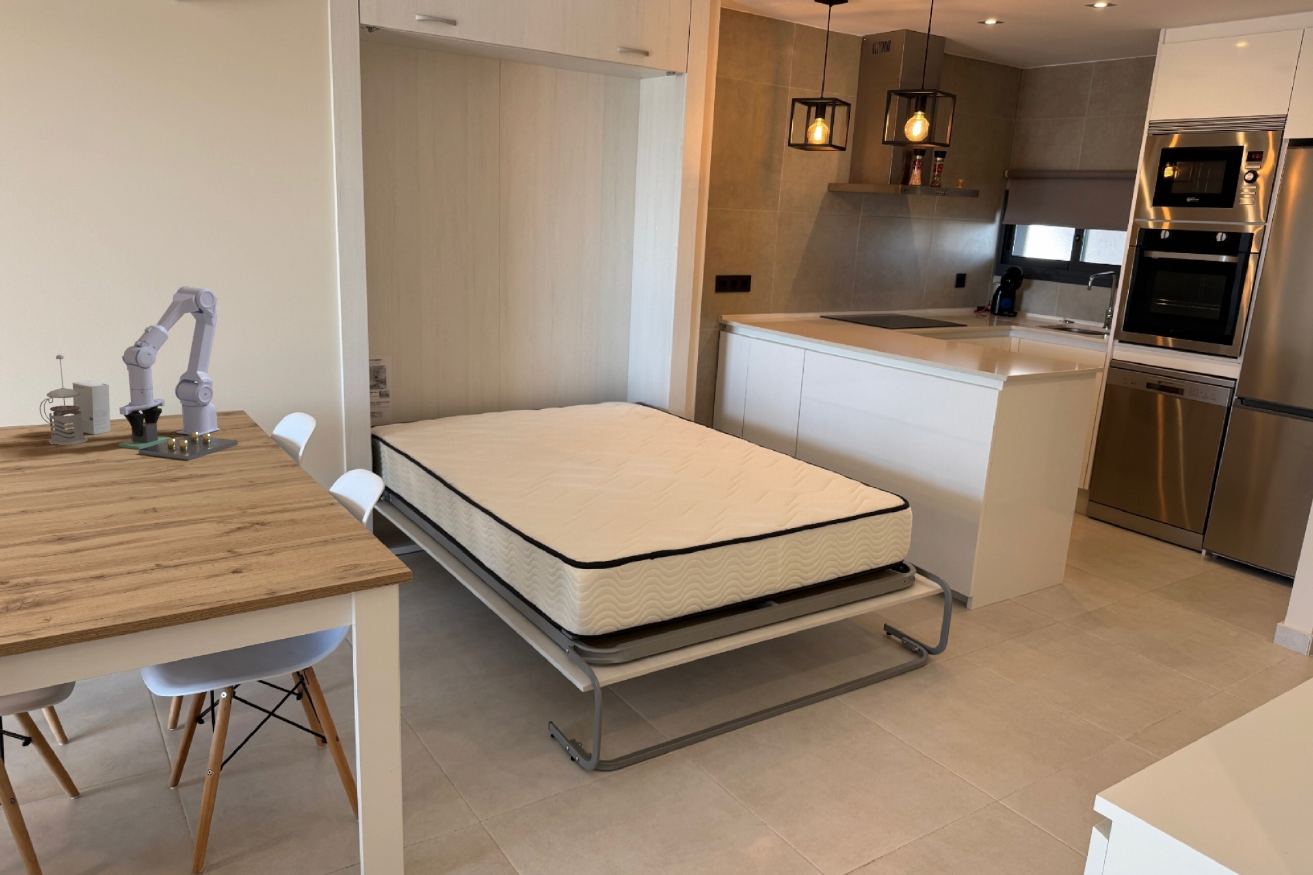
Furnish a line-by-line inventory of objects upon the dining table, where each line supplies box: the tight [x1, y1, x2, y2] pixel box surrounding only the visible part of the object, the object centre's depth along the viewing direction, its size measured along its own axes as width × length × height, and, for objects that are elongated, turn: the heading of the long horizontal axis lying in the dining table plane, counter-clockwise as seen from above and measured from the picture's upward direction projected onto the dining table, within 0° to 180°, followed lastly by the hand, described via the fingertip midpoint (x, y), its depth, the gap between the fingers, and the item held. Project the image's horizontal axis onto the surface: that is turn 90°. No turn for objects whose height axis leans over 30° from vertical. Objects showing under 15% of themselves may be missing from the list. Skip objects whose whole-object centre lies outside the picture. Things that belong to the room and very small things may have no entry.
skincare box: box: [72, 380, 111, 435], centre depth 268 cm, size 8×6×15 cm
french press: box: [39, 354, 89, 446], centre depth 255 cm, size 10×12×25 cm
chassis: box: [138, 432, 239, 461], centre depth 257 cm, size 20×16×4 cm
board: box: [118, 421, 171, 450], centre depth 260 cm, size 12×7×6 cm, turn 166°
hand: (144, 434), depth 260 cm, fingers closed on board, 4 cm apart
